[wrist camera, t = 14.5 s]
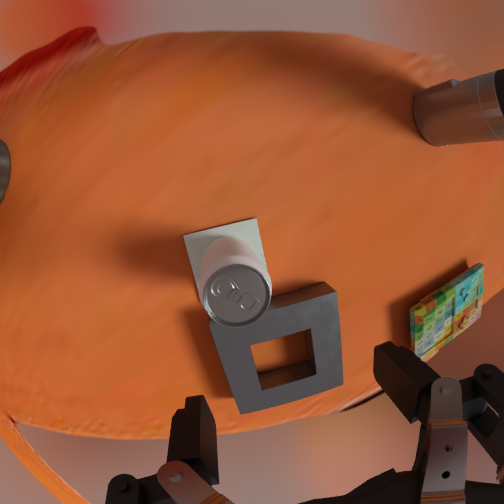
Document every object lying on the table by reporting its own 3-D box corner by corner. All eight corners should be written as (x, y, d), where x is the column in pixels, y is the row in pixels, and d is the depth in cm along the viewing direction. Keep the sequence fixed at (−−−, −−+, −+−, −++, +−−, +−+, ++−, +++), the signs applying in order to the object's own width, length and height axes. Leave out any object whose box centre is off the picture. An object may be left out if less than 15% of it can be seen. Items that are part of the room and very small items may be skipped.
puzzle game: (483, 317, 39) (416, 367, 38) (469, 309, 44) (402, 354, 43) (486, 265, 36) (416, 314, 35) (470, 260, 41) (400, 303, 40)
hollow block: (209, 311, 35) (209, 325, 31) (324, 281, 37) (336, 291, 33) (238, 397, 39) (240, 414, 35) (333, 370, 40) (343, 384, 36)
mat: (183, 235, 33) (183, 236, 32) (255, 217, 34) (256, 218, 33) (202, 302, 35) (202, 304, 34) (269, 285, 36) (270, 287, 35)
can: (221, 225, 33) (226, 242, 21) (265, 254, 34) (291, 286, 23) (192, 269, 33) (182, 308, 22) (235, 296, 35) (246, 344, 23)
